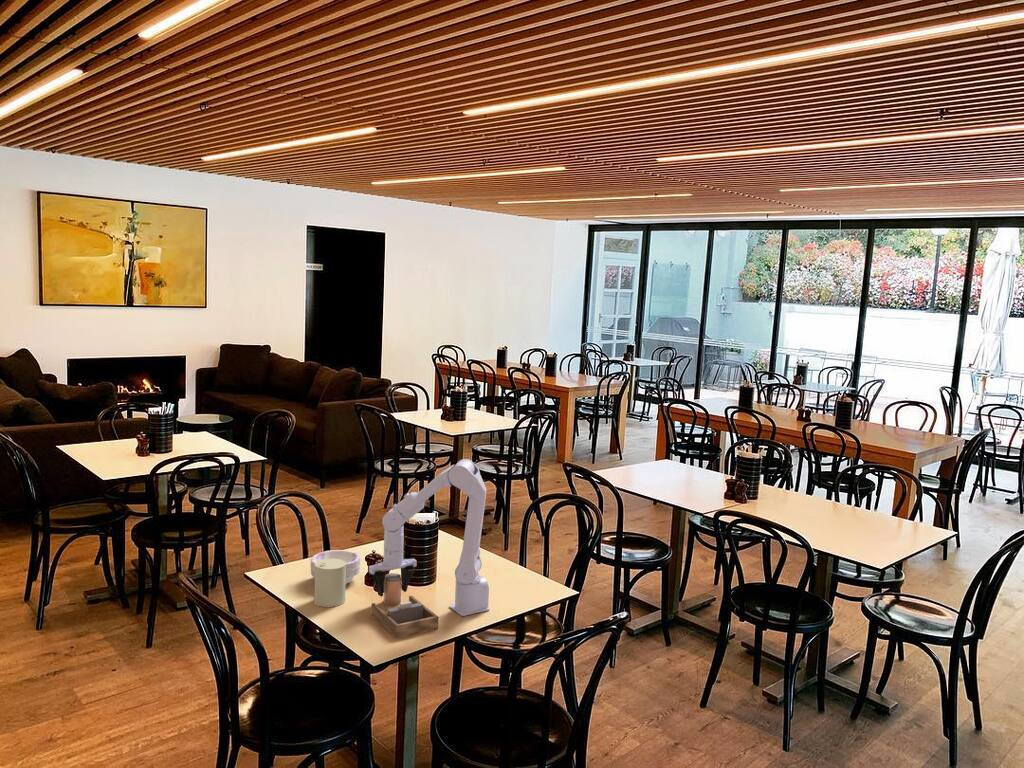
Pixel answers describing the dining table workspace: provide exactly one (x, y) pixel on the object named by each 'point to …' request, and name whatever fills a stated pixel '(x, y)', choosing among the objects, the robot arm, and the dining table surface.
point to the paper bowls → (348, 556)
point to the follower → (406, 612)
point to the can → (330, 582)
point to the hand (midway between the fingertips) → (392, 592)
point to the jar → (392, 589)
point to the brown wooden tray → (409, 627)
